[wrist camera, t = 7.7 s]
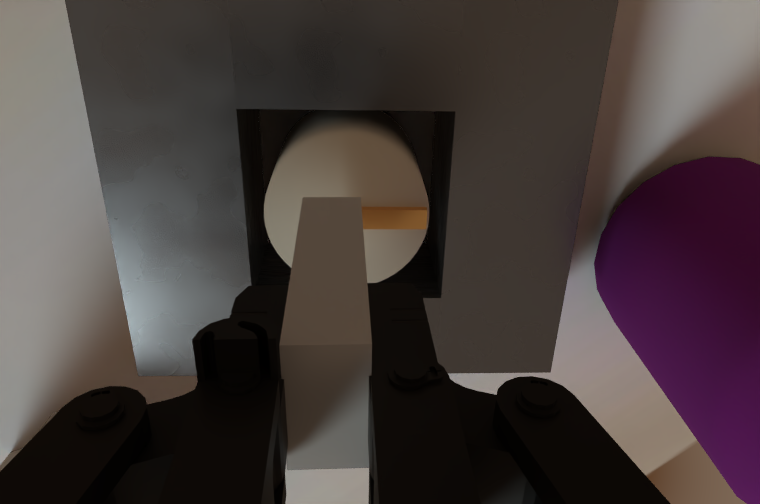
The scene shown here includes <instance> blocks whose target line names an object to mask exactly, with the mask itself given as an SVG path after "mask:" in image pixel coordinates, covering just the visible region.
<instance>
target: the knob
mask: <svg viewBox="0 0 760 504" xmlns="http://www.w3.org/2000/svg"><path fill="white" fill-rule="evenodd" d="M303 197H361V207H362V220H363V233H364V246H365V259H366V272H367V283H377V282H380V281H382V280H384V279H387V278H388V277H390V276H392V275H394V274H395V273H397V272H398V271H399V270H401V269H402V268H403V267H404V266H405V265H406V264H407V263H408V262H409V261H410V260H411V259H412V258H413V257H414V255H415V254H416V253H417V251H418V250H419V248H420V246H421V244H422V242H423V240H424V238H425V235H426V231H427V228H428V222H429V202H428V196H427V193H426V189H425V186H424V183H423V180H422V176H421V173H420V170H419V166H418V163H417V160H416V157H415V153H414V150H413V147H412V144H411V142H410V140H409V138H408V136H407V135H406V133H405V131H404V130H403V129H402V128H401V126H400V125H399V124H398V123H397V122H396V121H395V120H394V119H393V118H391V117H390V116H389V115H387V114H386V113H384V112H382V111H379V110H313V111H311V112H310V113H308V114H307V115H305V116H304V117H303V118H302V119H300V120H299V121H298V122H297V123H296V124H295V125H294V127H293V128H292V129H291V130H290V132H289V134H288V135H287V137H286V139H285V141H284V143H283V145H282V148H281V151H280V154H279V157H278V160H277V163H276V166H275V168H274V171H273V174H272V177H271V180H270V183H269V186H268V189H267V192H266V196H265V202H264V220H265V227H266V230H267V233H268V236H269V239H270V241H271V243H272V245H273V247H274V248H275V250H276V252H277V253H278V254H279V256H280V257H281V258H282V259H283V261H284V262H285V263H286V264H288V265H289V266H290V267H291V268H292V262H293V256H294V249H295V243H296V237H297V230H298V224H299V217H300V211H301V205H302V198H303Z"/></svg>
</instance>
